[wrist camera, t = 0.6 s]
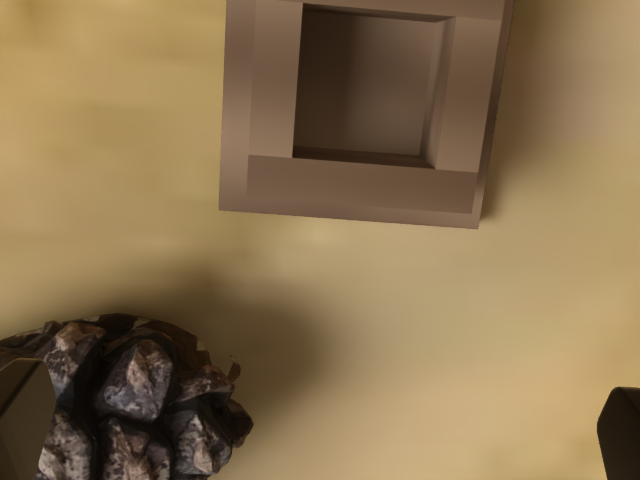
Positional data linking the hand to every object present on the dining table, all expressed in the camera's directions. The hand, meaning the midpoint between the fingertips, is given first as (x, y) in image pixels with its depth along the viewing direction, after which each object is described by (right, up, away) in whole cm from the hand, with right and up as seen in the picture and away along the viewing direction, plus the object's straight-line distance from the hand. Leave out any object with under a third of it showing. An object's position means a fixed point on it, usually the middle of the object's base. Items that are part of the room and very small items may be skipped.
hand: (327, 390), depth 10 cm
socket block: (+1, +8, +13) cm, 16 cm away
